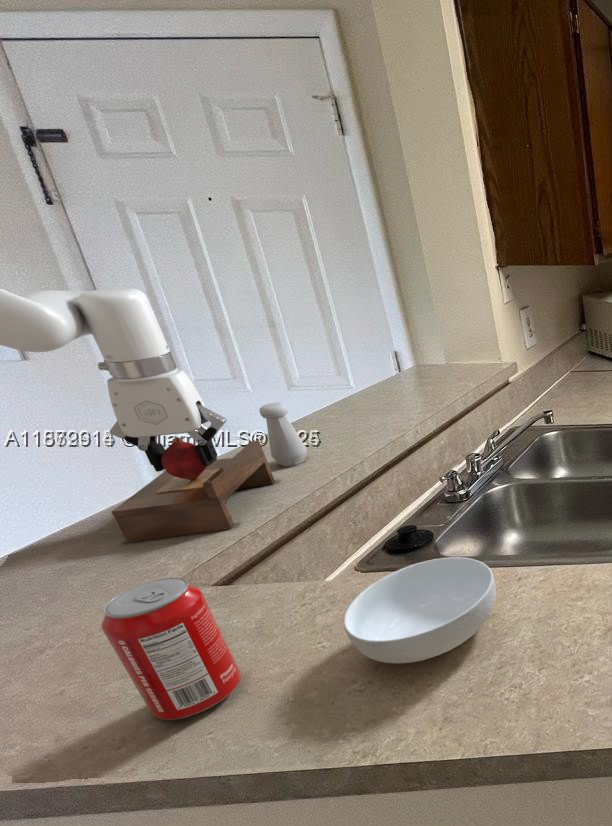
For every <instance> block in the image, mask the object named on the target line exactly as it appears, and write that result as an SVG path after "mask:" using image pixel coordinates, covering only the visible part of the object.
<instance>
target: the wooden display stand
mask: <svg viewBox="0 0 612 826" xmlns="http://www.w3.org/2000/svg"><path fill="white" fill-rule="evenodd" d="M270 467H271V466H270V465H269V462H268V460H267V457H266V454H265V452H264V450H263V447H262V444H261V442H260V440H251V441H250V442H248V444H247V445H245V446H244V447H243V448H242V449H241V450H239V452H237V453H236V454H235V455H234V456H233V457H228V458H221V459H220V458H219V459H218V458H217V460H216V461H214V462H213V463H212V464H211V465H210V466H207V468H206V469H205V470H204V471H203V472H202V473H201V474H200V475H199V477H198V478H197V479H194V480H188V479H183V478H178V477H175V476H172V475H170V474H169V473H167V472H166V470H163V472H162V473H161V474H159V475H158V476H157V477H155V478H154V479H153V480H151V481H150V482H148V483H147V484H146V485H145V486H143V487H142V488H141V489H139V490H138V491H137V492H135V493H134V494H132V495H131V496H130V497H129V498H127V499H126V500H125V501H124V502H123V503H121V504H120V505H118V506H117V507H115V508H114V509H113V510H111V514H112V515H113V518H114V519H115V521H116V523H117V525H118V527H119V529H120V531H121V533H122V535H123V537H124V538H125V541H126V543H127V544H129V543H137V542H144V541H151V540H159V539H167V538H174V537H182V536H188V535H196V534H197V535H198V534H203V533H210V532H217V531H225V530H231V529H233V528H234V527H235V523H234V521H233V518H232V516H231V514H230V512H229V510H228V507H227V505H226V503H225V501H226V500H227V499H228V498H229V497H230V496H232V494H233V493H234V492H235V491H236V490H237V489H246V488H253V487H254V488H255V487H262V486H270V485H271V486H272V485H274V483H276V479H275V478H274V475H273V473H272V470H271V468H270Z"/></svg>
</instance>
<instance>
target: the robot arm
mask: <svg viewBox="0 0 612 826" xmlns="http://www.w3.org/2000/svg"><path fill="white" fill-rule="evenodd" d="M88 335H92V336H93V339H94V342H95V343H96V346H97V348H98V349H99V351H100V354H101V356H102V358H103V361H100V362H98V363H97V368H98V369H99V371H106V372H108V373H109V375H110V376H112V377H109V378H108V379H107V380H106V383H107V390H108V391H107V392H108V396H109V399H110V404H111V407H112V410H113V413H114V415H115V418H116V421H115V423H114V424H113V426H112V427H111V428H110V430H109V434H111V435H113V436H114V437H117V438H119V439H122V440H124V441H125V442H126V443H128V444H131V445H133V446H135V447H137V449H138V450H139V451H142V452H144V453H145V455H146V458H147V459H148V462H149V464H150V465H151V466H153V468H154V470H155V472H157V473H158V472H162V471H164V470H165V469H164V468H163V466H162V463H161V457H162V455H163V453H164V451H165V450H166V449H165V447H164V444H162V443H160V442H159V443H158V437H160V436H169V435H170V436H171V435H179V434H187V435H189V436H190V437H191V438H192V440H194V442H196V444H195V445H196V446H195V449H196V451H197V453H198V455H199V458H200V460H201V462H202V465H203V466H210V465H211V464H212V463H213V462H214V461H216V460H218V453H217V450H216V447H215V446H214V443H213V441H212V440H213V439H214V437H215V436H216V435H217V433H218V432H219V431H220V430H221V429H222V427H223V426H224V425H225V424H226V423H227V421H228V419H227V418H226V417H224V416H222V415H220V414H219V413H217V412H215V411H213V410H211V409H209V408H207V407H206V405H205V403H204V400H203V398H202V397H201V395H200V393H199V391H198V390H197V388H196V386H195V385H194V382H192V380H191V378H190V377H189V376H188V375H187V374H186V372H185V371H184V370H183V369H181V368H180V369H178V367H177V364H176V362H175V359H174V357H173V355H172V352H171V350H170V347H169V345H168V342H167V339H166V338H165V335H164V333H163V330H162V329H161V326H160V324H159V322H158V319H157V317H156V314H155V313H154V310H153V308H152V304H151V303H150V300H149V298H148V297H147V295H146V293H144V292H143V291H142V290H140V289H137V288H132V287H114V288H113V287H112V288H101V289H95V290H90V291H89V290H57V289H55V290H51V289H46V290H45V289H44V290H37V291H33V292H29V293H27V294H25V295H21V296H20V295H18V294H15V293H13V292H11V291H8V290H6V289H2V288H0V346H3V347H6V348H9V349H13V350H17V351H23V352H28V353H47V352H53V351H56V350H58V349H61V348H63V347H64V346H66V345H68V344H69V343H71V342H72V341H74V340H77V339H79V338H82V337H85V336H88ZM208 422H210V425H209V427H206V426H205V425H204V424H206V423H208Z"/></svg>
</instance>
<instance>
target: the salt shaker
mask: <svg viewBox="0 0 612 826" xmlns="http://www.w3.org/2000/svg"><path fill="white" fill-rule="evenodd" d="M288 413H289V408H288V407H287V405H286V404H285V403H283V402H269V403H267V404H264V405H262V406H260V408H259V414H260V416H261V417H262V418H263V419H266V426H267V434H268V441H269V449H270V455H271V457H272V459H273V460H274V461H275V462H277V463H278V465H280V466H282V467H284V468H287V467H295V466H298V465H300V464H303V463H305V460H306V456H307V453H308V448H307V446H306V445H305V443H304V442H303V440H302V439H301V437H300V436H299V434H298V433H297V431H296V429H295V428H294V426H293V424H292V423H291V421H290V420H289V418H288V417H287V414H288Z"/></svg>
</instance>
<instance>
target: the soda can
mask: <svg viewBox="0 0 612 826" xmlns="http://www.w3.org/2000/svg"><path fill="white" fill-rule="evenodd" d="M103 613H104V615H105V616H104V618H103V620H102V621H101V630H102V631H103V633H104V635H105V637H106V638H107V641H108V642H109V643H110V645H111V647H112V649H113V650H114V652H115V654H116V655H117V657H118V659H119V661H120V662H121V664H122V666H123V667H124V669H125V671H126V673H127V675H128V676H129V678H130V680H131V681H132V683H133V685H134V686H135V688H136V690H137V691H138V693H139V696H141V698H142V700H143V702H144V703H145V705H146V707H147V708H148V710H149V712H150V713H151V715H153V717H155V718H157V719H159V720H163V721H164V720H166V721H167V720H168V721H171V720H179V719H184V718H188V717H192V716H194V715H197V714H200V713H202V712H205V711H207V710H208V709H210V708H211V709H212V708H213V707H214V706H216V705H217V704H219V703H220V702H222V701H223V700H224V699H226V698H227V697H229V696H230V695H231V694H232V693H233V692H234V691H235V690H236V688H237V687H238V685H239V684H240V681H241V679H242V674H241V670H240V668H239V666H238V664H237V663H236V659H235V658H234V656H233V654H232V651H231V650H230V648H229V646H228V644H227V641H226V640H225V638H224V635H223V633H222V631H221V629H220V627H219V625H218V622H217V621H216V618H215V617H214V614H213V612H212V610H211V608H210V606H209V604H208V602H207V599H206V598H205V596H204V594H203V593H202V591H201V589H200V588H198V587H196V586H194V585H191V584H189V583H188V581H187V580H186V579H184V578H180V577H166V578H159V579H155V580H151V581H147V582H144V583H142V584H141V583H140V584H139V585H136V586H134V587H131V588H129V589H126V590H124V591H123V592H121V593H119V594H117V595H116V596H114V597H113V598H112V599H110V600H109V601H108V602H107V603H106V604H105V605H104V606H103Z"/></svg>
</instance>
